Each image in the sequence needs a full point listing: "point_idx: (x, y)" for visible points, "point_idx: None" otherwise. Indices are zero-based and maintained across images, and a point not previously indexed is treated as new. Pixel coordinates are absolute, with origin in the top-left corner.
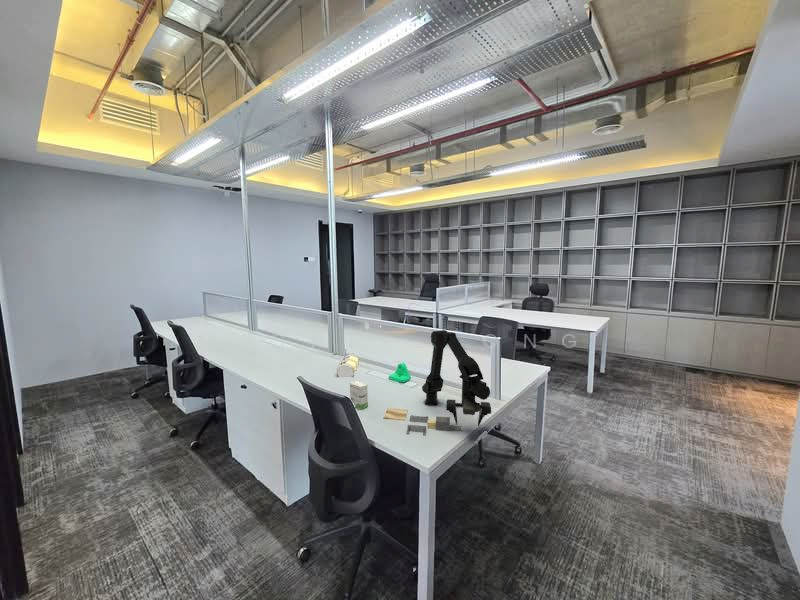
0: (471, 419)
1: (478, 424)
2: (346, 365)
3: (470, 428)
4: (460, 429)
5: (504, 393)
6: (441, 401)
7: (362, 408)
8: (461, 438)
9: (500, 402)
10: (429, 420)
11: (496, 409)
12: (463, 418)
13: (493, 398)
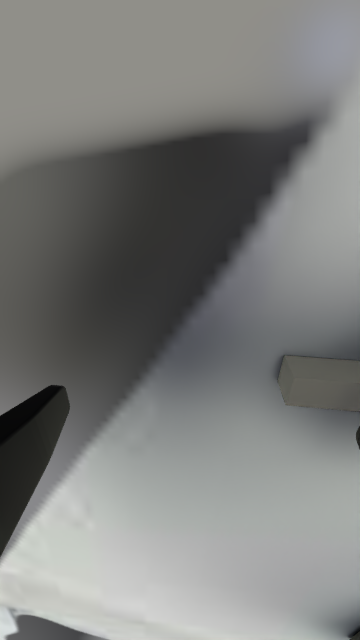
0: (154, 500)
1: (40, 404)
2: None
3: (171, 389)
4: (296, 359)
5: (3, 628)
6: (326, 631)
7: None
8: (352, 114)
9: (3, 596)
10: None
11: (6, 563)
12: (218, 511)
13: (41, 615)
